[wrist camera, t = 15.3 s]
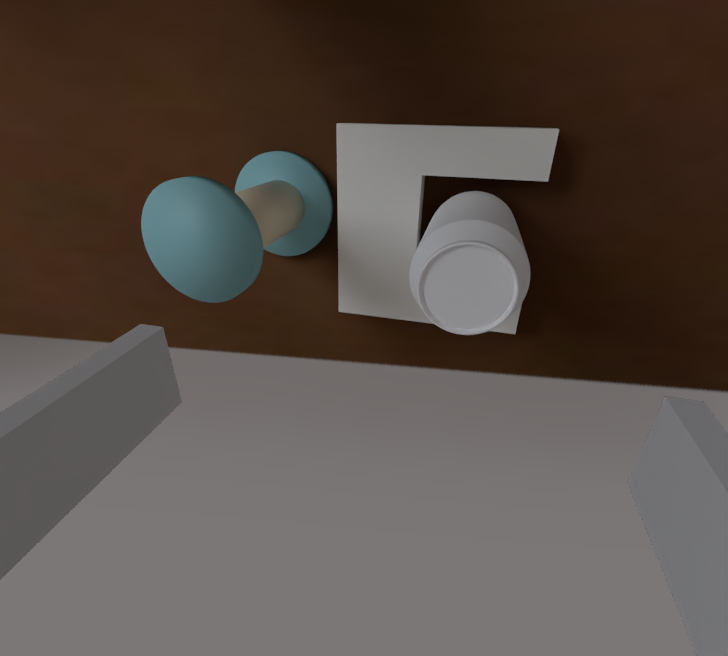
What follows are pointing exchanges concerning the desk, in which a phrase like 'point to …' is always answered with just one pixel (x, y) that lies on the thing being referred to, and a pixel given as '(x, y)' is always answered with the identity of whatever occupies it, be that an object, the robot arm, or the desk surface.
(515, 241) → the beverage can
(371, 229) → the u-shaped block
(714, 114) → the desk surface
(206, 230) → the bobbin
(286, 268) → the desk surface
